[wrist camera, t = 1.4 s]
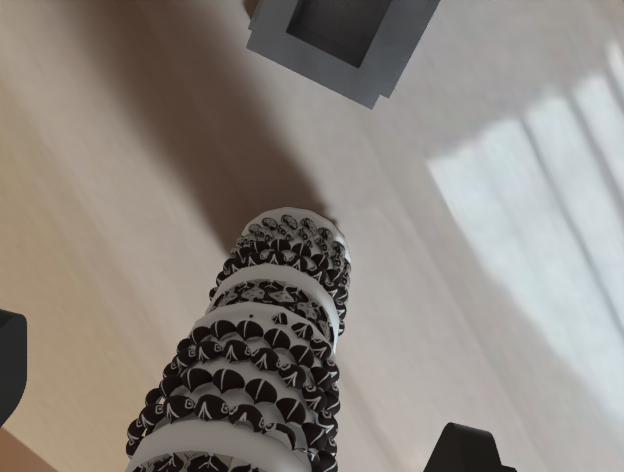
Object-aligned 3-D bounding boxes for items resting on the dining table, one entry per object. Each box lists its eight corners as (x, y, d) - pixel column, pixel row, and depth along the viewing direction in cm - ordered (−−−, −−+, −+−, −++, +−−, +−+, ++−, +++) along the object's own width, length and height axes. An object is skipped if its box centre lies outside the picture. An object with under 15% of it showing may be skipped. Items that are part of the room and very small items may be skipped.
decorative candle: (375, 225, 37) (363, 623, 15) (332, 327, 41) (274, 753, 19) (248, 183, 36) (40, 523, 14) (219, 289, 41) (24, 678, 19)
